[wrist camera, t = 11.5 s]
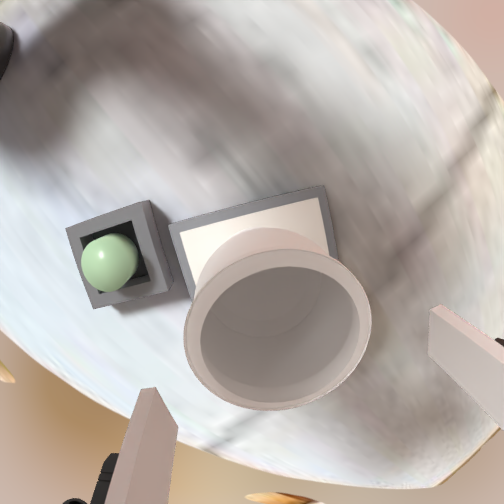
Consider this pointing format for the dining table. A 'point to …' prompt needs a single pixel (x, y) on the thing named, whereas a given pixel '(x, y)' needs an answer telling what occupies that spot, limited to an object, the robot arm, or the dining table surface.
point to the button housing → (149, 247)
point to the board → (252, 215)
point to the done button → (110, 261)
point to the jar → (275, 321)
